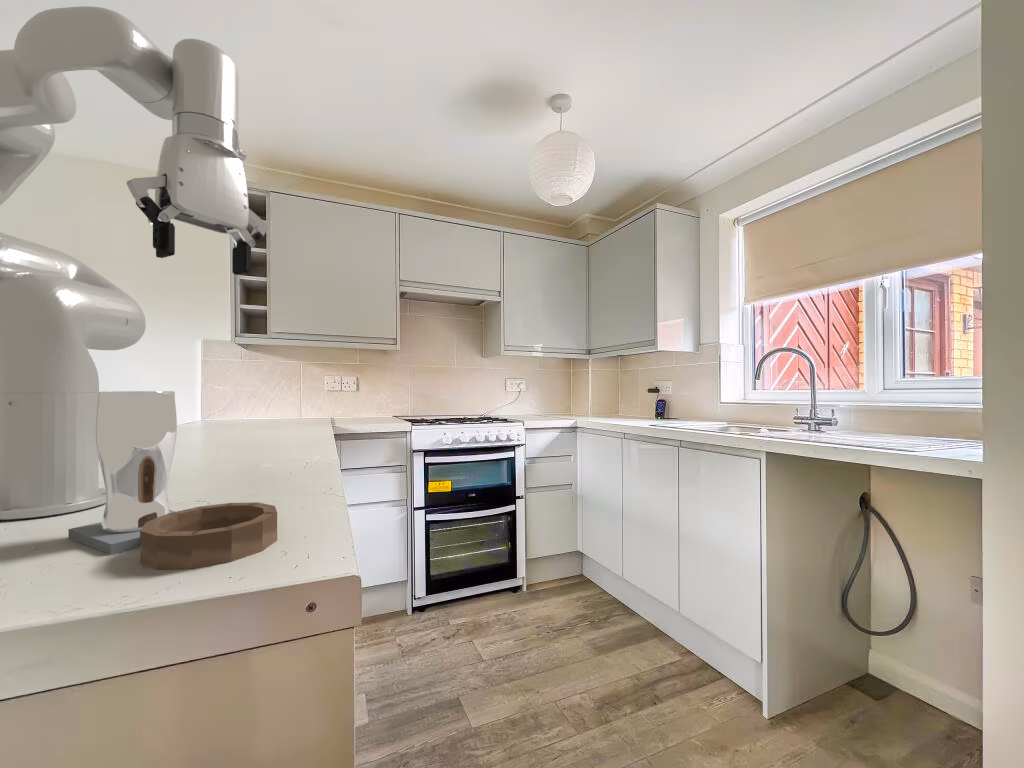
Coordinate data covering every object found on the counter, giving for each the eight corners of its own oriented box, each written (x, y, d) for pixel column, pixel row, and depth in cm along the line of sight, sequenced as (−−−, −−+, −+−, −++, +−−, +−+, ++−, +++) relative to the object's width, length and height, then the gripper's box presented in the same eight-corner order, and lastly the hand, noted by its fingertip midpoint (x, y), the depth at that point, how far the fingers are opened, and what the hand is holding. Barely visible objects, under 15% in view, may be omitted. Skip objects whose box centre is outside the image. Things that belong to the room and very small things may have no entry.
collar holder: (118, 554, 43) (119, 524, 43) (236, 522, 53) (236, 498, 53) (181, 578, 38) (181, 543, 38) (299, 538, 48) (299, 510, 48)
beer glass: (130, 537, 45) (131, 392, 46) (77, 532, 47) (77, 391, 47) (191, 517, 52) (192, 391, 52) (143, 514, 54) (144, 391, 54)
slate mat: (68, 538, 48) (68, 529, 48) (164, 516, 56) (164, 508, 56) (111, 554, 43) (111, 544, 43) (209, 528, 51) (209, 519, 51)
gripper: (251, 174, 70) (250, 281, 70) (114, 115, 55) (113, 252, 55) (281, 164, 67) (281, 276, 67) (144, 97, 51) (144, 243, 51)
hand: (205, 265), depth 61 cm, fingers open, 9 cm apart
